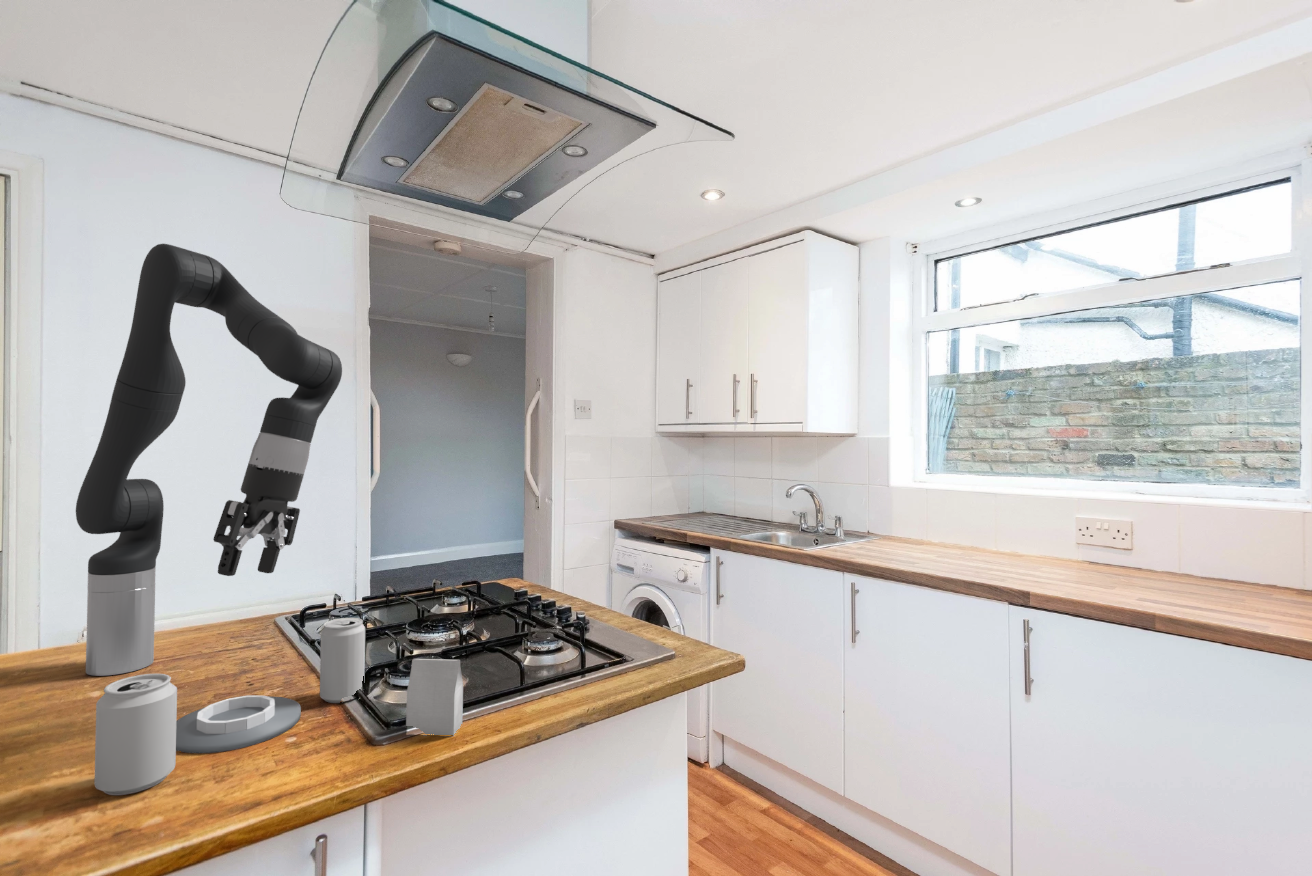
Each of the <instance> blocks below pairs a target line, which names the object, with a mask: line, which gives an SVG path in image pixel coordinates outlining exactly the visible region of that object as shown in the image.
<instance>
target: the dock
mask: <svg viewBox="0 0 1312 876" xmlns="http://www.w3.org/2000/svg"><path fill="white" fill-rule="evenodd" d="M301 706H302V705H300V703H299V702H298V701H296V700H294V699H292V698H289V697H284V696H283V697H282V696H273V695H272V696H271V695H270V696H269V695H267V696H266V695H256V694H255V695H254V694H253V695H243V696H242V695H241V696H235V697H230V698H227V699H223V700H220V701H217V702H214V703H211V704H208V705H207V706H204V707H203V708H199V709H197V710H194V711H191V712H190V713H188V714H186V715H184V716H182V717H179V719H176V752H179V751H181V752H180V753H184V754H213V753H215V754H216V753H220V752H221V753H222V752H229V751H235V750H238V749H243V748H247V747H251V746H255V745H257V744H260V743H263V742H266V741H268V740H269V741H270V740H271V739H273V738H275V737H278V736H281V735H282V734H284V733H286V732H287V731H289V730H290V729H292V728H293V727H295V725H296V724H297V723H298V722H299V721H300V718H301V715H302V712H301V710H302V707H301Z"/></svg>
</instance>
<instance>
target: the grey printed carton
mask: <svg viewBox="0 0 1312 876" xmlns="http://www.w3.org/2000/svg"><path fill="white" fill-rule="evenodd" d="M411 660H412V661H411V668H410V673H409V679H408V680H409V681H408V685H407V689H406V709H405V710H406V714H405V715H406V720H405V727H406V726H413V727H416V728H419V729H420V730H421V731H423V732H424V733H425V734H430V735H431V734H432V735H433V734H434V735H453V736H452V737H455V735H456V734H457V732H458V731H459V730H460V728H461V727H462V726H461V724H462V725H463V712H464V711H463V707H464V682H463V681H464V680H463V675H462V669H461V667H462V666H461V659H444V658H440V659H439V658H413V659H411ZM460 726H461V727H460ZM458 729H459V730H458ZM457 730H458V731H457ZM456 731H457V732H456ZM455 733H456V734H455ZM454 734H455V735H454Z"/></svg>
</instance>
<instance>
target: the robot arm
mask: <svg viewBox="0 0 1312 876" xmlns="http://www.w3.org/2000/svg"><path fill="white" fill-rule="evenodd" d="M134 304H135V305H134V312H133V317H132V321H131V328H130V331H129V332H130V333H129V336H128V340H127V343H126V347H125V351H124V356H123V358H122V361H121V365H120V367H119V371H118V374H117V377H116V380H115V384H114V387H113V391H112V395H111V399H110V403H109V408H108V412H107V415H106V420H105V422H104V426H103V429H102V432H101V437H100V438H99V442H98V444H97V448H96V450H95V453H94V456H93V458H92V460H91V463H90V465H89V467H88V470H87V472H86V474H85V477H84V479H83V481H82V484H81V486H80V489H79V493H78V496H77V499H76V504H75V519H76V522H77V524H78V526H79V528H80V530H82V531H83V532H85V533H87V534H90V535H104V534H105V535H106V534H115V533H119V536H118V538H117V539H116V540H115V541H113V543H111V545H109V546H108V547H106V548H104V549H102V550H100V551H98V552H96V553H94V554H92V555H91V556H90V558H89V559H88V562H87V563H88V564H87V596H86V597H87V602H86V603H87V604H86V608H87V609H86V641H85V642H86V644H85V646H86V647H85V649H86V650H85V674H87V675H89V676H97V677H98V676H99V677H100V676H101V677H103V676H112V675H113V676H114V675H121V674H125V673H126V674H128V673H130V672H135V671H138V670H141V669H143V668H147V667H148V666H151V665H152V664H153V663H154V660H155V659H154V657H155V655H154V654H155V653H154V652H155V618H156V617H155V615H156V614H155V613H156V612H155V611H156V607H155V606H156V565H157V557H158V555H159V553H160V550H161V544H162V531H163V521H164V508H165V507H164V497H163V493H162V490H161V488H160V487H159V485H158V484H157V483H156V482H155V481H153V480H151V479H147V478H132V479H131V478H129V479H128V476H129V474H130V472H131V469H132V467H133V466H134V463H135V462H136V460H137V459H138V458H139V457H140V455H141V454H142V453H143V452H144V451H145V450H146V449H147V448H148V447H149V446H151V445H152V444H153V442H155V441H156V439H158V438H160V436H161V435H162V434H163V433H164V432H165V431H166V430H167V429H168V428H169V427H170V426H171V424H172V423H173V422H174V421H175V419H176V417H177V414H178V413H179V409H180V406H181V402H182V398H183V395H184V391H185V388H186V383H187V382H186V381H187V380H186V376H185V371H184V368H183V365H182V363H181V361H180V359H179V358H180V357H179V355H178V353H177V351H176V349H175V346H174V344H173V341H172V337H171V322H172V321H171V320H172V315H173V314H172V313H173V311H174V306H175V304H179V305H184V306H189V307H193V308H204V309H207V310H209V311H212V312H213V313H214V312H215V313H216V314H219V315H221V316H223V317H224V319H225V325H226V328H227V331H228V332H229V333H230V334H231V336H232V337H233V338H234V339H235V340H236V341H237V342H239V343H240V344H241V345H242V346H243V347H245V348H246V349H248V350H249V351H250V352H251V353H253V354H254V355H256V356H257V357H258V359H259V360H260V362H262V364H263V365H264V366H265V368H266V369H267V370H269V372H271V373H272V374H273V375H275V376H277V377H279V378H280V379H282V380H284V381H286V382H289V383H292V384H295V385H297V388H296V390H295V391H294V392H293V393H292V395H291V396H290V397H275V398H273V399H271V400H270V401H269V403H268V405H267V406H266V407H267V408H266V410H265V412H264V416H263V420H262V423H261V426H260V429H259V433H258V436H257V438H256V440H255V442H254V445H253V447H252V449H251V453H250V456H249V461H248V462H247V464H248V465H247V467H246V469H245V473H244V476H243V480H242V483H241V486H240V492H241V494H242V493H243V494H245V498H244V500H243V501H237V500H232V499H228V500H227V501H226V502H225V503H224V504H225V505H224V507H223V510H222V513H221V516H220V519H219V522H218V524H217V527H216V529H215V533H214V536H213V538H212V539H213V542H214V543H219V544H220V545H221V546H222V547H223V549H222V553H221V555H220V560H219V562H218V564H217V565H218V566H217V573H218V574H219V575H222V576H227V577H233V576H235V575H236V572H237V570H238V566H239V563H240V559H241V556H242V553H243V550H242V549H243V548H244V546H245V545H246V544H247V543H248V541H250V540H251V539H254V538H255V537H257V535H261V536H262V538H263V542H264V546H265V547H263V549H262V553H261V556H260V559H259V563H258V566H257V571H258V572H259V573H264V574H272V573H274V571H275V568H276V565H277V562H278V560H279V556H280V552H281V550H283V549H284V548H285V546H291V545H292V544H293V543H294V537H295V533H296V529H297V526H298V525H297V524H298V521H299V517H300V512H301V510H300V508H298V507H293V506H290V505H289V502H290V503H292V502H295V501H297V499H298V496H299V492H300V490H301V487H302V483H303V479H304V476H305V471H306V470H307V465H308V462H309V456H310V449H311V443H312V440H313V437H314V433H315V430H316V426H317V424H318V423H317V422H318V419H319V418H320V416H321V414H322V413H323V411H324V410H325V409H326V407H327V405H328V403H329V402H330V400H331V398H332V397H333V396H334V393H335V392H336V390H337V389H338V387H339V385H340V383H341V379H342V375H343V366H342V362H341V359H340V357H339V356H338V355H337V353H335V351H334V350H331V349H328V348H327V347H324V346H322V345H319V344H317V343H316V342H314V341H311V340H309V339H307V338H305V337H303V336H302V335H300V334H298V332H297V331H296V329H295V328H294V327H293V326H292V325H291V324H290V323H289V322H287V321H286V320H285V319H283V318H282V317H280V316H279V315H278V314H277V313H275V312H273V311H272V310H270V308H268V307H266V306H265V305H263V304H262V303H261V302H259V300H257V299H256V298H255V297H253V295H252V294H251V293H250V292H249V291H248V290H247V289H246V288H245V287H244V285H242V284H241V283H240V282H239V281H238V279H236V278H235V276H234V275H233V274H232V273H231V272H230V271H229V269H227V268H226V267H225V266H224V265H223V263H221V262H219V260H217V259H215V258H213V257H212V256H209V255H206V254H202V253H200V252H196V251H192V250H190V249H186V248H183V247H179V246H176V245H172V244H170V243H169V244H168V243H158V244H156V245H155V246H153V247H152V248H151V249H150V250H149V251H148V253H147V254H146V256H145V258H144V261H143V263H142V267H141V271H140V274H139V281H138V286H137V291H136V299H135V303H134ZM288 505H289V506H288ZM228 527H229V532H228V533H227V534H226V530H227V528H228ZM286 530H287V532H286ZM285 535H286V536H285ZM238 537H239V538H238Z"/></svg>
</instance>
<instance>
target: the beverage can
mask: <svg viewBox="0 0 1312 876" xmlns="http://www.w3.org/2000/svg"><path fill="white" fill-rule="evenodd" d="M363 623H364V620H363V619H361V618H360V617H341V618H334V619H331V620H328V621H326V622H324V624H323V628H322V630H321V631H320V653H319V654H320V658H319V659H320V661H319V663H320V665H319V667H320V669H319V696H320V698H321V699H322V700H324V701H325V702H328V703H331V704H340V701H341V699H342V698H344V697H348V696H351V695H354V694H355V693H356V691H357V690H359V689H361V687H362V681H363V676H364V677H365V667H366V666H365V664H366V663H365V660H366V659H365V658H366V657H365V655H366V654H365V653H366V627H365V626H364V624H363Z"/></svg>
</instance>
